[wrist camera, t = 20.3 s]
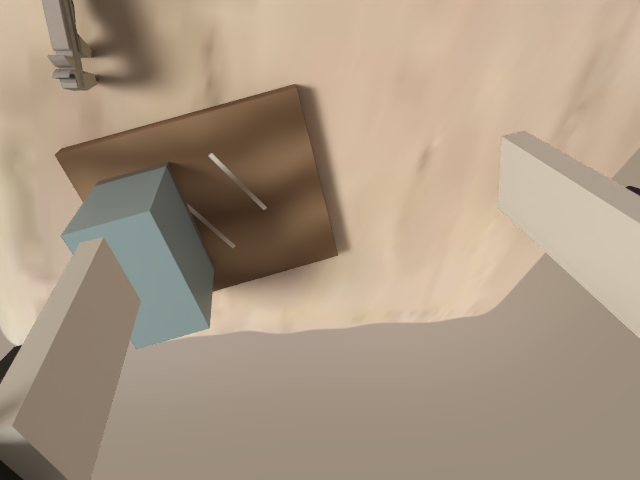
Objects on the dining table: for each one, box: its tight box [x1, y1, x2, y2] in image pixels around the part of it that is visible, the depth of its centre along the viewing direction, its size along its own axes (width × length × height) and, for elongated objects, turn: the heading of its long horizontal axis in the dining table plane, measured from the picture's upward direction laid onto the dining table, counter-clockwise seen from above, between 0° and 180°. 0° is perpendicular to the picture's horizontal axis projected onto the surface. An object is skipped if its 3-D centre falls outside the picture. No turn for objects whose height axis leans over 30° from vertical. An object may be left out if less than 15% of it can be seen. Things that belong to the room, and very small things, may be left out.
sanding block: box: [61, 162, 214, 349], centre depth 35 cm, size 11×6×9 cm, turn 13°
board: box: [55, 84, 338, 292], centre depth 39 cm, size 17×20×2 cm
